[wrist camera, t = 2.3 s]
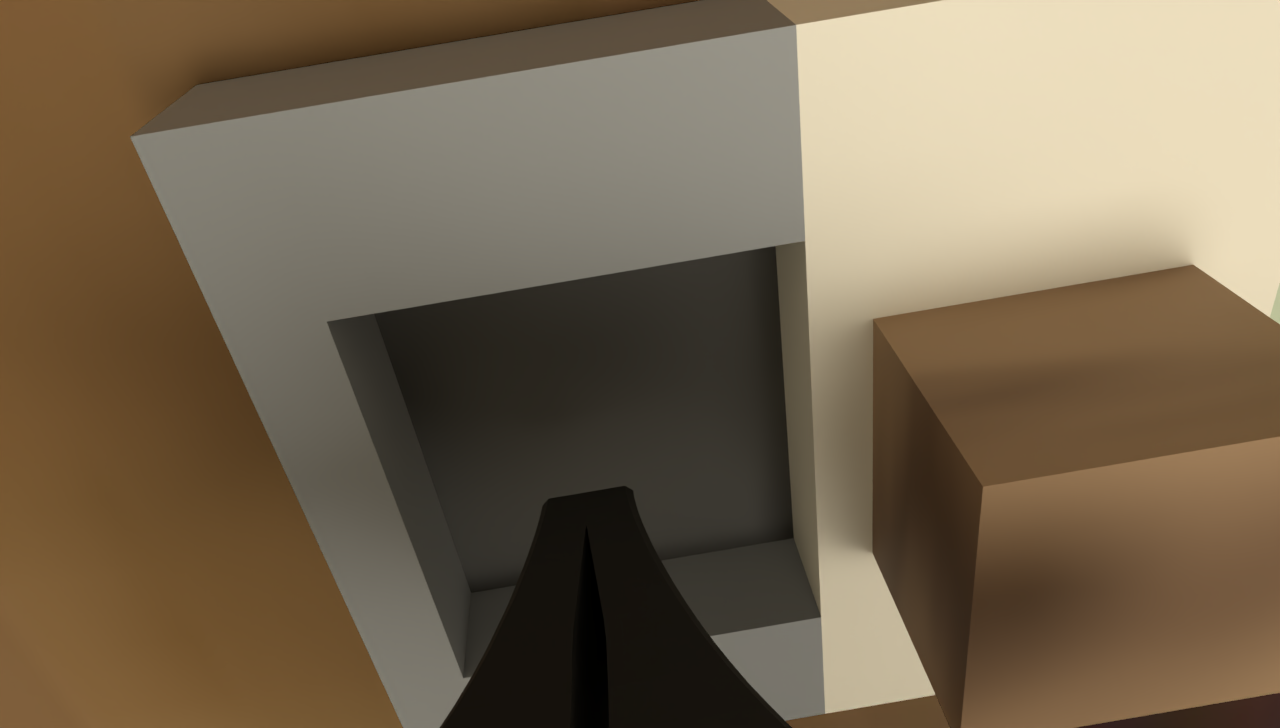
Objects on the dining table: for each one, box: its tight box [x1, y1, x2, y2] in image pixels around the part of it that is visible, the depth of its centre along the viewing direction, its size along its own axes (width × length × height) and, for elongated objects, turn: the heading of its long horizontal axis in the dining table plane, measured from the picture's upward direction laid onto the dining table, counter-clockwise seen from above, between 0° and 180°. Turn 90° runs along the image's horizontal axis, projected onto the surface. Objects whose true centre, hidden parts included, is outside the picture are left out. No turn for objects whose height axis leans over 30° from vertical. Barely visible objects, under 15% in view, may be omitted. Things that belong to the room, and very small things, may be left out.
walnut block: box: [872, 265, 1280, 728], centre depth 13 cm, size 5×5×4 cm
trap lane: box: [130, 0, 1280, 728], centre depth 16 cm, size 14×32×2 cm, turn 98°
